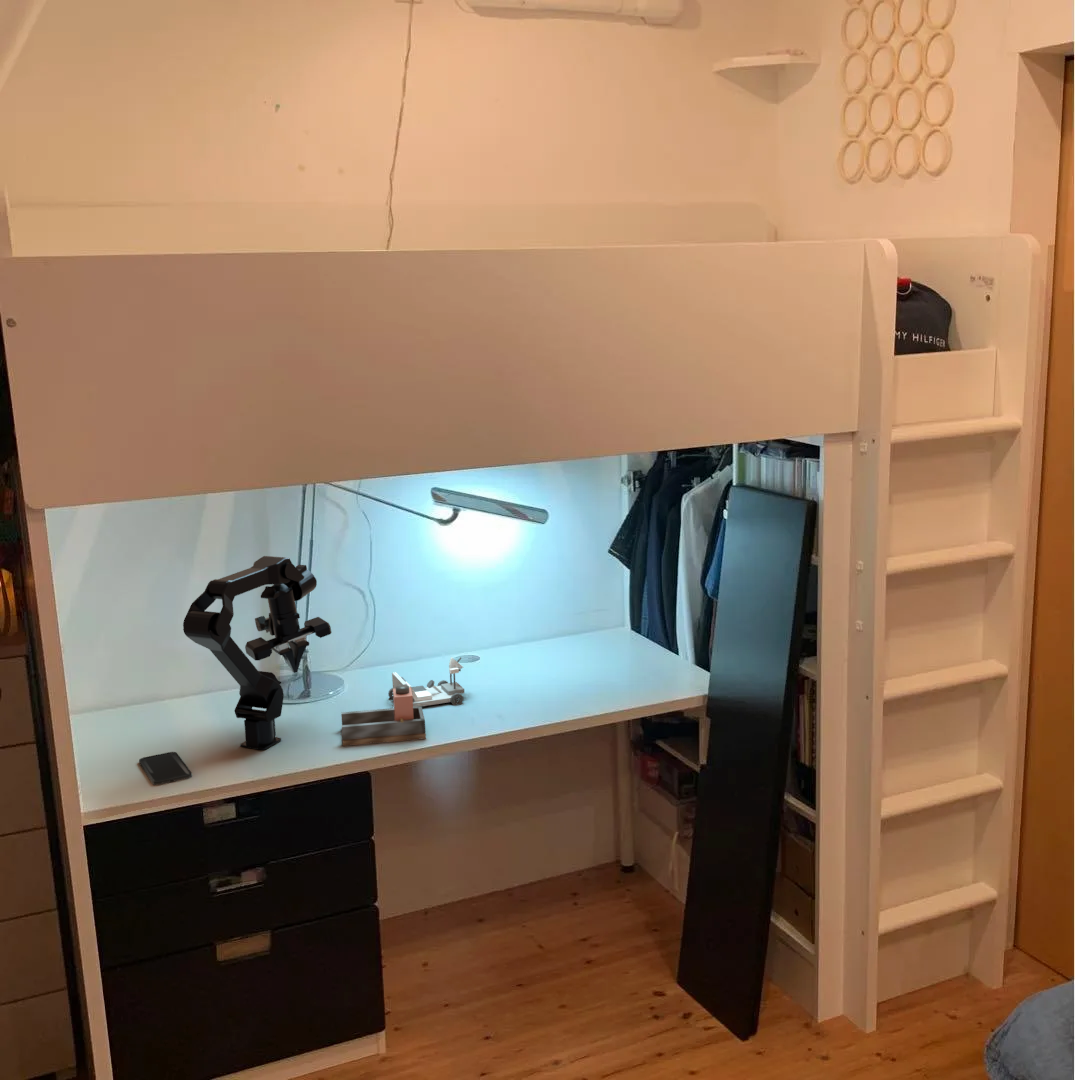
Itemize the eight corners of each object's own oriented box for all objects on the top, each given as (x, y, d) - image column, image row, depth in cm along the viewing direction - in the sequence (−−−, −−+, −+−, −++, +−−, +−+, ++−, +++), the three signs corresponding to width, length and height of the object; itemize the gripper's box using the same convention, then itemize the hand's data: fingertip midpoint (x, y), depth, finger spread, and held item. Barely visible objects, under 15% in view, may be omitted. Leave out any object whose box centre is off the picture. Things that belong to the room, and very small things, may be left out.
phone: (175, 750, 248) (192, 774, 235) (175, 755, 248) (193, 779, 235) (137, 758, 244) (152, 782, 231) (137, 763, 244) (153, 787, 231)
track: (342, 745, 250) (341, 726, 249) (342, 728, 261) (341, 709, 260) (425, 738, 253) (425, 719, 252) (421, 721, 264) (421, 703, 263)
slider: (395, 731, 254) (393, 692, 252) (394, 722, 260) (392, 683, 258) (414, 730, 255) (412, 690, 253) (412, 721, 261) (410, 682, 259)
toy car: (457, 651, 285) (472, 664, 274) (459, 689, 287) (474, 703, 276) (386, 661, 278) (399, 674, 268) (388, 699, 280) (401, 714, 270)
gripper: (305, 587, 268) (316, 647, 274) (229, 612, 258) (242, 674, 264) (326, 600, 260) (337, 662, 265) (249, 627, 250) (262, 690, 255)
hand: (295, 671), depth 263 cm, fingers closed
